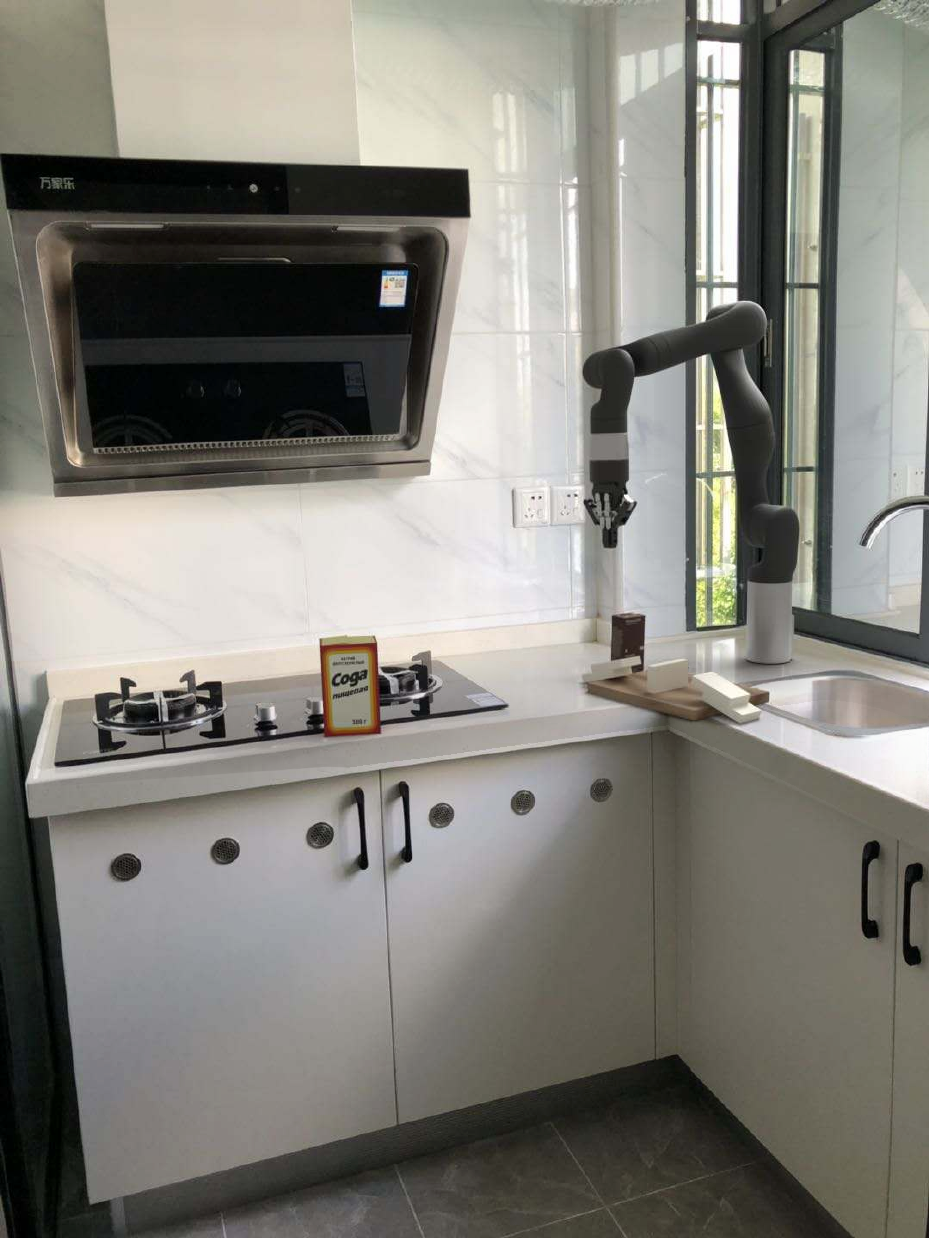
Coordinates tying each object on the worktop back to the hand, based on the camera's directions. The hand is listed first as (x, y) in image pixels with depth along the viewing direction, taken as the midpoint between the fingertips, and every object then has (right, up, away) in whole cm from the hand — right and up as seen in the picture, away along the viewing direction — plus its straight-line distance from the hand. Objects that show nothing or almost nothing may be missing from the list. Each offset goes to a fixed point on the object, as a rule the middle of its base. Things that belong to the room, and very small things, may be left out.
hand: (609, 547), depth 197 cm
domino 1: (+4, -22, -2) cm, 22 cm away
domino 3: (+13, -24, -6) cm, 28 cm away
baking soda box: (-48, -33, -23) cm, 62 cm away
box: (+6, -25, +15) cm, 30 cm away
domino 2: (+2, -24, 0) cm, 24 cm away
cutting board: (+11, -28, -7) cm, 31 cm away
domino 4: (+14, -24, -17) cm, 32 cm away
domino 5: (+15, -27, -18) cm, 36 cm away
